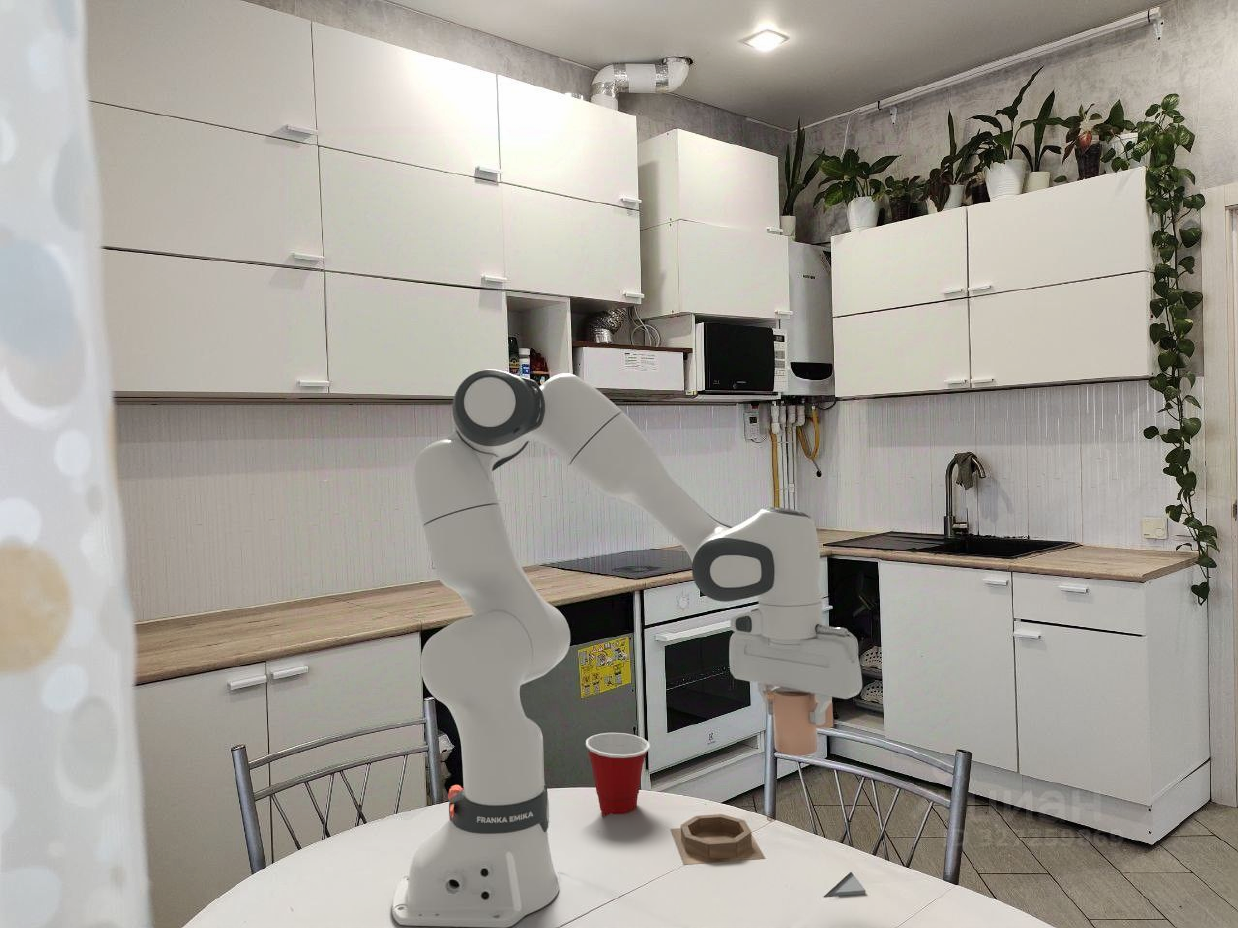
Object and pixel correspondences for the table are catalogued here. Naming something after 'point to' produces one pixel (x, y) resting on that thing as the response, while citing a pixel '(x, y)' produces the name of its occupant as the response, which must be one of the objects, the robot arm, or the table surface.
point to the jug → (796, 721)
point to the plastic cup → (617, 770)
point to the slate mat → (847, 887)
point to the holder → (715, 840)
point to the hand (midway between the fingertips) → (795, 718)
